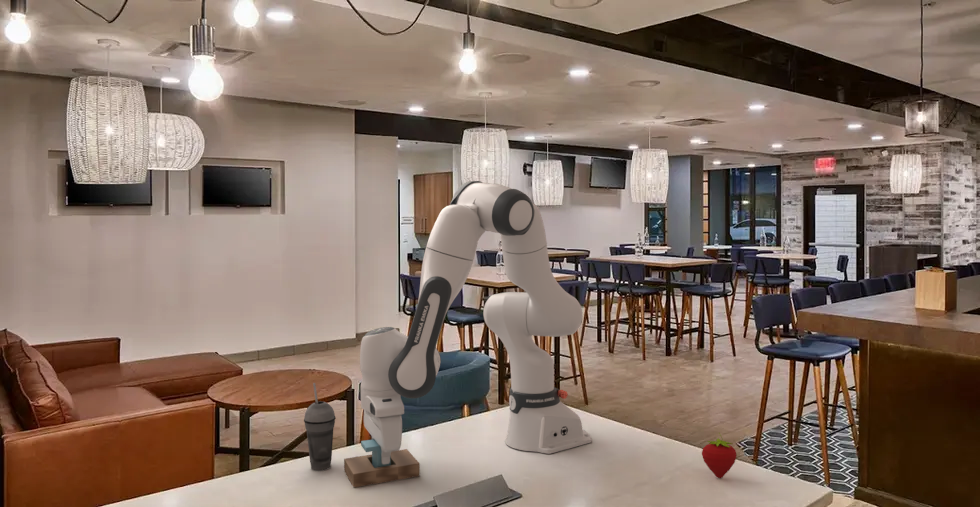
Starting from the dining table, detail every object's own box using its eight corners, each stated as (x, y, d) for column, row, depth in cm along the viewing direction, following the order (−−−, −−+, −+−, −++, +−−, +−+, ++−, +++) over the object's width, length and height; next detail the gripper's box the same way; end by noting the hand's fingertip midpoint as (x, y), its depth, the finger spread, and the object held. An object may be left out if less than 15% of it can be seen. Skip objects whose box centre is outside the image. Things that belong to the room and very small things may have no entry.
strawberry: (697, 472, 150) (698, 429, 150) (730, 472, 151) (730, 429, 150) (706, 483, 144) (707, 438, 144) (740, 482, 145) (741, 437, 144)
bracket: (385, 462, 154) (384, 437, 154) (390, 470, 149) (390, 444, 149) (361, 466, 152) (360, 441, 152) (366, 474, 147) (365, 447, 147)
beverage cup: (328, 474, 151) (326, 388, 150) (299, 471, 153) (297, 386, 152) (341, 462, 158) (340, 380, 157) (313, 460, 160) (311, 378, 159)
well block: (406, 461, 159) (406, 449, 159) (419, 476, 150) (419, 463, 150) (344, 471, 153) (344, 458, 153) (353, 487, 144) (353, 474, 144)
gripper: (356, 389, 158) (357, 446, 159) (377, 412, 140) (379, 476, 141) (382, 386, 161) (383, 442, 162) (406, 408, 142) (407, 471, 143)
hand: (381, 458), depth 151 cm, fingers closed on bracket, 5 cm apart
